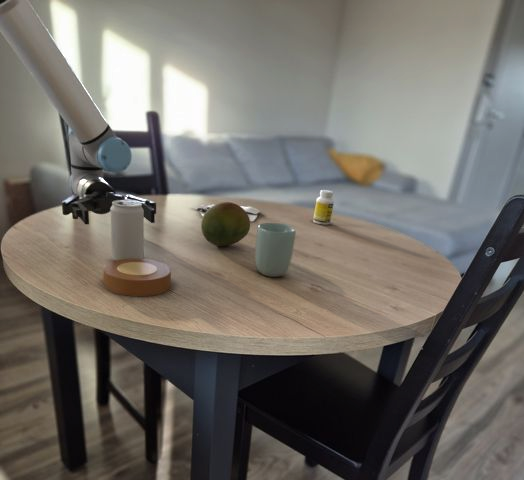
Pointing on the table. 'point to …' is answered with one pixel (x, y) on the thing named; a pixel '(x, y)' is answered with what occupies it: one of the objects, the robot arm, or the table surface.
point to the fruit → (225, 224)
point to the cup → (274, 248)
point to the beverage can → (127, 230)
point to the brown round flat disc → (137, 277)
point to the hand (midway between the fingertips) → (121, 217)
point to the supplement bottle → (324, 208)
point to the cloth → (249, 210)
